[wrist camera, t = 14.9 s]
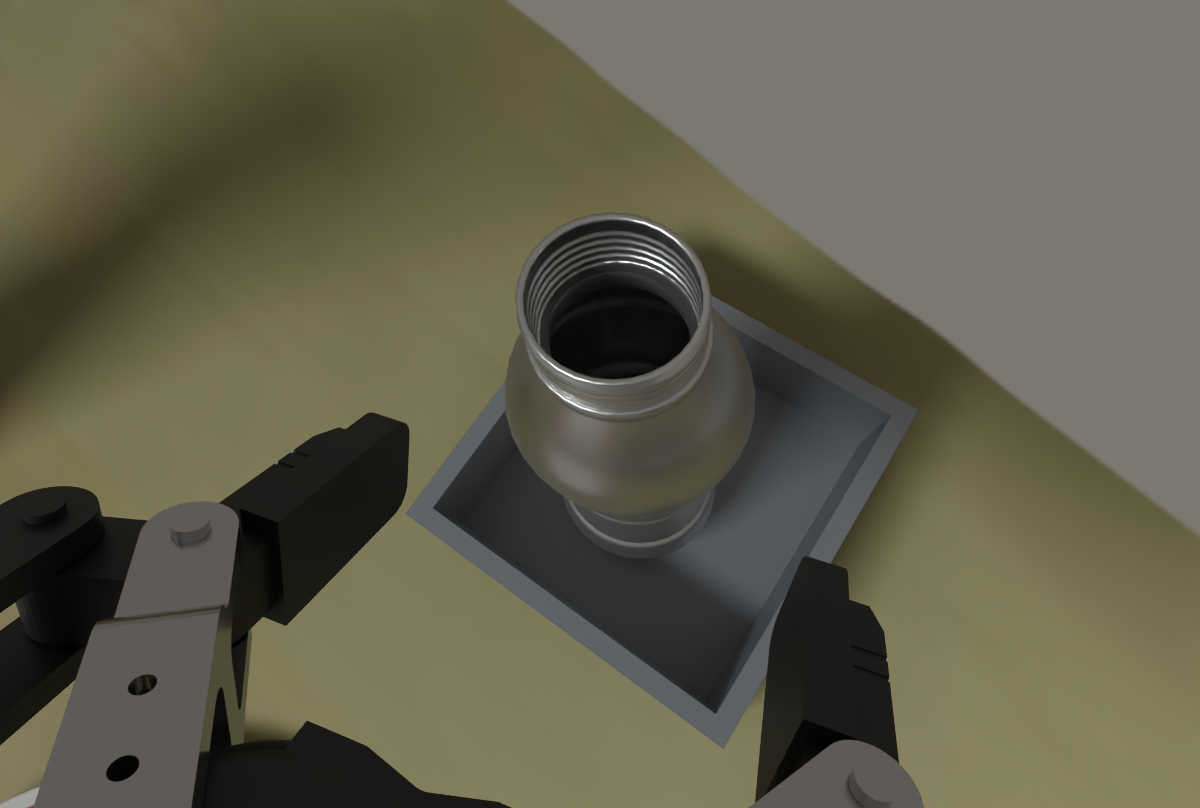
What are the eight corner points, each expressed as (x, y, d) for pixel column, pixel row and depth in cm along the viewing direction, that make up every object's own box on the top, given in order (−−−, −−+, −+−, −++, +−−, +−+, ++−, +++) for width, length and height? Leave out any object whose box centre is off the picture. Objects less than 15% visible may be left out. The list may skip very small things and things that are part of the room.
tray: (711, 725, 29) (723, 748, 24) (446, 530, 32) (405, 513, 27) (876, 444, 32) (919, 409, 27) (617, 295, 36) (611, 239, 30)
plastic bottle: (618, 400, 33) (562, 97, 14) (738, 475, 31) (863, 247, 12) (541, 510, 31) (363, 340, 12) (663, 594, 30) (671, 546, 11)
